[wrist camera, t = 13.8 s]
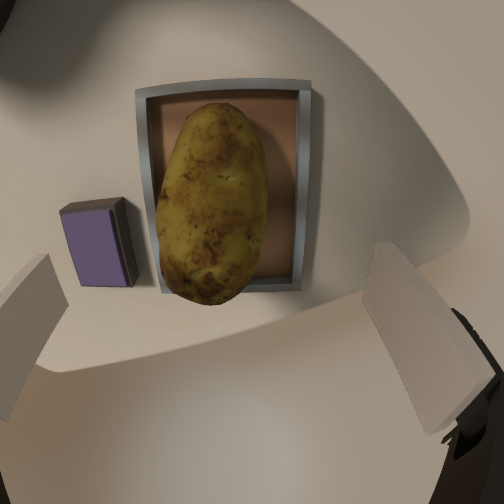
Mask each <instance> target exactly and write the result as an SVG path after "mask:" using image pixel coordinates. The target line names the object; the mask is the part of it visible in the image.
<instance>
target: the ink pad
mask: <svg viewBox="0 0 504 504" xmlns="http://www.w3.org/2000/svg"><path fill="white" fill-rule="evenodd" d="M59 212H60V217H61V221H62V225H63V229H64V232H65V236H66V240H67V243H68V247H69V250H70V253H71V257H72V260H73V263H74V266H75V269H76V272H77V275H78V278H79V281H80V284H81V286H88V287H133V286H134V284H135V282H136V280H137V279H138V277H139V274H138V269H137V265H136V261H135V257H134V252H133V248H132V243H131V238H130V233H129V228H128V223H127V217H126V212H125V206H124V200H123V197H117V198H108V199H99V200H91V201H83V202H75V203H70V204H68V205H67V206H65V207H64V208H62V209H61V210H59Z"/></svg>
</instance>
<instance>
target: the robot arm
mask: <svg viewBox="0 0 504 504" xmlns="http://www.w3.org/2000/svg"><path fill="white" fill-rule="evenodd" d="M14 2H15V0H0V31H1V29H2V27H3V26H4V24H5V22H6V20H7V18H8V16H9V13H10V11H11V9H12V7H13V4H14ZM362 301H363V303H364V305H365V307H366V309H367V311H368V313H369V314H370V316H371V318H372V320H373V322H374V324H375V326H376V328H377V330H378V332H379V334H380V336H381V337H382V340H383V342H384V344H385V346H386V348H387V350H388V352H389V354H390V355H391V358H392V360H393V362H394V364H395V366H396V368H397V370H398V372H399V375H400V377H401V379H402V381H403V383H404V385H405V388H406V390H407V392H408V394H409V397H410V399H411V401H412V404H413V406H414V408H415V410H416V413H417V415H418V417H419V420H420V423H421V425H422V428H423V430H424V432H425V435H426V437H428V436H430V435H432V434H435V433H437V432H439V431H441V430H444V429H445V428H447V427H448V426H449V425H450V423H452V422H453V421H454V420H455V419H456V421H457V423H458V425H457V426H456V427H455V428H454V429H453V430H452V431H451V432H450V433H448V434H447V435H446V436H445V437H444V438H443V440H442V442H441V443H442V444H443V443H445V442H446V441H447V440H449V439H450V438H451V437H452V439H451V441H450V442H449V443H448V444H447V445H449V449H448V453H447V456H446V459H445V462H444V465H443V468H442V471H441V474H440V477H439V479H438V482H437V485H436V487H435V490H434V492H433V495H432V497H431V499H430V502H429V504H504V372H503V371H502V369H501V367H500V366H499V364H498V363H497V361H496V360H495V358H494V357H493V355H492V354H491V352H490V351H489V349H488V348H487V346H486V345H485V344H484V342H483V341H482V339H479V335H478V334H477V332H476V331H475V330H473V327H472V326H471V324H470V323H469V322H468V320H467V319H466V318H465V317H464V316H463V315H461V314H460V313H459V312H458V311H456V310H455V309H454V308H451V309H450V308H449V306H448V305H447V304H446V303H445V301H444V300H443V299H442V298H441V297H440V295H439V294H438V293H437V292H436V290H435V289H434V288H433V287H432V286H431V284H430V283H429V282H428V281H427V280H426V279H425V277H424V276H423V275H422V274H421V273H420V272H419V271H418V269H417V268H416V267H415V266H414V265H413V264H412V263H411V262H410V260H409V259H408V258H407V257H406V256H405V255H404V254H403V253H402V252H401V251H400V250H399V249H398V247H397V246H396V245H395V244H394V243H393V242H375V247H374V252H373V256H372V261H371V265H370V269H369V274H368V278H367V282H366V286H365V290H364V293H363V297H362ZM68 306H69V304H68V302H67V300H66V297H65V295H64V293H63V290H62V288H61V286H60V283H59V281H58V278H57V275H56V273H55V270H54V267H53V265H52V262H51V259H50V256H49V253H42V254H36V255H35V256H34V257H33V258H32V259H31V260H30V261H29V262H28V263H27V264H26V265H25V266H24V267H23V268H22V269H21V271H20V272H19V273H18V274H17V275H16V276H15V277H14V278H13V279H12V280H11V281H10V283H9V284H8V285H7V286H6V287H5V288H4V289H3V291H2V292H1V293H0V419H1V420H3V421H5V422H7V423H8V421H9V419H10V416H11V414H12V411H13V409H14V406H15V404H16V402H17V399H18V397H19V395H20V392H21V391H22V388H23V386H24V384H25V382H26V380H27V378H28V376H29V374H30V372H31V370H32V368H33V366H34V364H35V362H36V360H37V358H38V357H39V355H40V353H41V351H42V349H43V347H44V346H45V344H46V342H47V340H48V339H49V337H50V335H51V333H52V332H53V330H54V328H55V327H56V325H57V323H58V322H59V320H60V318H61V317H62V315H63V314H64V312H65V310H66V309H67V307H68ZM0 504H11V503H10V500H9V497H8V495H7V492H6V489H5V486H4V483H3V479H2V476H1V472H0Z"/></svg>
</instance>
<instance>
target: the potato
mask: <svg viewBox="0 0 504 504" xmlns="http://www.w3.org/2000/svg"><path fill="white" fill-rule="evenodd" d="M267 195H268V181H267V165H266V158H265V153H264V149H263V146H262V144H261V141H260V139H259V138H258V136H257V134H256V132H255V131H254V129H253V127H252V126H251V124H250V122H249V120H248V119H247V118H246V116H245V115H244V114H243V112H242V111H240V110H239V109H238V108H237V107H235V106H233V105H230V104H229V103H217V102H216V103H209V104H206V105H204V106H202V107H200V108H198V109H197V110H195V111H193V113H192V114H191V115H189V116H187V117H186V121H185V123H184V124H183V126H182V128H181V130H180V133H179V135H178V137H177V140H176V143H175V146H174V149H173V152H172V154H171V157H170V160H169V164H168V167H167V170H166V174H165V177H164V181H163V185H162V189H161V193H160V195H159V196H158V204H157V210H156V231H157V236H158V241H159V264H160V269H161V275H162V276H163V279H164V281H165V284H166V286H167V287H168V288H169V289H170V290H171V291H172V293H173V294H177V295H179V296H181V297H183V298H185V299H187V300H190V301H193V302H195V303H198V304H202V305H210V306H211V305H221V304H223V303H225V302H227V301H229V300H231V299H232V298H234V297H235V296H236V295H238V294H239V293H240V292H241V291H242V290H243V289H244V288H245V287H246V286H247V285H248V283H249V282H250V280H251V278H252V276H253V275H254V273H255V271H256V269H257V267H258V264H259V261H260V257H261V250H262V243H263V237H264V233H265V229H266V206H267Z"/></svg>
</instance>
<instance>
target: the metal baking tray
mask: <svg viewBox="0 0 504 504" xmlns="http://www.w3.org/2000/svg"><path fill="white" fill-rule="evenodd" d="M135 100H136V120H137V135H138V147H139V158H140V168H141V176H142V185H143V192H144V200H145V207H146V213H147V220H148V226H149V232H150V238H151V243H152V249H153V254H154V259H155V264H156V269H157V274H158V278H159V283H160V288H161V292H162V293H172V291H171V290H170V289H169V288H168V287H167V286H166V284H165V281H164V279H163V276H162V275H161V269H160V264H159V241H158V236H157V231H156V210H157V204H158V196H159V195H160V193H161V189H162V185H163V181H164V177H165V174H166V170H167V167H168V164H169V160H170V157H171V154H172V152H173V149H174V146H175V143H176V140H177V137H178V135H179V133H180V130H181V128H182V126H183V124H184V123H185V121H186V117H187V116H189V115H191V114H192V113H193V111H195V110H197V109H198V108H200V107H202V106H204V105H206V104H209V103H216V102H217V103H229V104H230V105H233V106H235V107H237V108H238V109H239V110H240V111H242V112H243V114H244V115H245V116H246V118H247V119H248V120H249V122H250V124H251V126H252V127H253V129H254V131H255V132H256V134H257V136H258V138H259V139H260V141H261V144H262V146H263V149H264V153H265V158H266V165H267V181H268V195H267V206H266V229H265V233H264V237H263V243H262V250H261V257H260V261H259V264H258V267H257V269H256V271H255V273H254V275H253V276H252V278H251V280H250V282H249V283H248V285H247V286H246V287H245V288H244V289H243V290H242V291H241V292H240V293H248V292H278V291H300V287H301V277H302V267H303V256H304V244H305V231H306V217H307V202H308V184H309V162H310V131H311V81H309V80H295V79H273V78H237V79H215V80H201V81H191V82H181V83H173V84H166V85H159V86H153V87H147V88H141V89H136V90H135Z"/></svg>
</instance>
